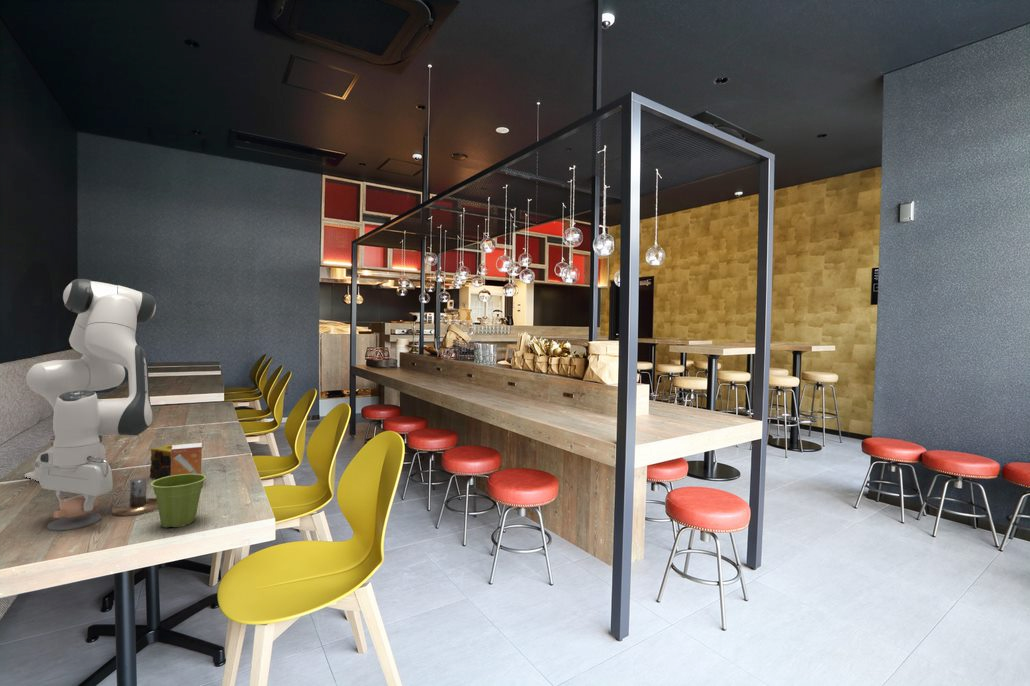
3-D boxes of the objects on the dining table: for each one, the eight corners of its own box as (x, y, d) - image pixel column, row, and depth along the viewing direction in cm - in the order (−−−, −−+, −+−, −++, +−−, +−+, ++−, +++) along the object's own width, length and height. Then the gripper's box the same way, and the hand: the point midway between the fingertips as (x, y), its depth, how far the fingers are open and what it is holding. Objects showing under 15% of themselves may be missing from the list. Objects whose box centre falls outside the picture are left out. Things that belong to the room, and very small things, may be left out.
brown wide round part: (101, 513, 128) (101, 483, 128) (142, 499, 138) (142, 472, 138) (132, 518, 125) (133, 488, 125) (172, 504, 136) (172, 476, 136)
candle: (170, 482, 155) (170, 451, 155) (148, 478, 158) (148, 448, 158) (199, 473, 165) (200, 445, 164) (178, 470, 168) (179, 442, 168)
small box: (170, 491, 147) (170, 449, 146) (171, 485, 152) (171, 444, 152) (201, 487, 151) (202, 446, 151) (201, 481, 156) (202, 442, 156)
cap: (87, 505, 126) (87, 489, 126) (104, 508, 125) (104, 491, 125) (46, 518, 118) (46, 501, 118) (64, 521, 116) (64, 503, 116)
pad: (37, 527, 118) (37, 525, 118) (82, 513, 127) (82, 511, 127) (66, 533, 115) (66, 530, 115) (110, 517, 125) (110, 515, 125)
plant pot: (216, 516, 128) (217, 475, 127) (176, 534, 116) (176, 489, 116) (180, 512, 130) (181, 471, 130) (137, 529, 119) (138, 484, 119)
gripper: (120, 455, 122) (120, 509, 122) (62, 449, 127) (61, 500, 127) (93, 461, 116) (93, 518, 116) (33, 454, 120) (32, 508, 121)
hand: (76, 508), depth 121 cm, fingers closed on cap, 6 cm apart
